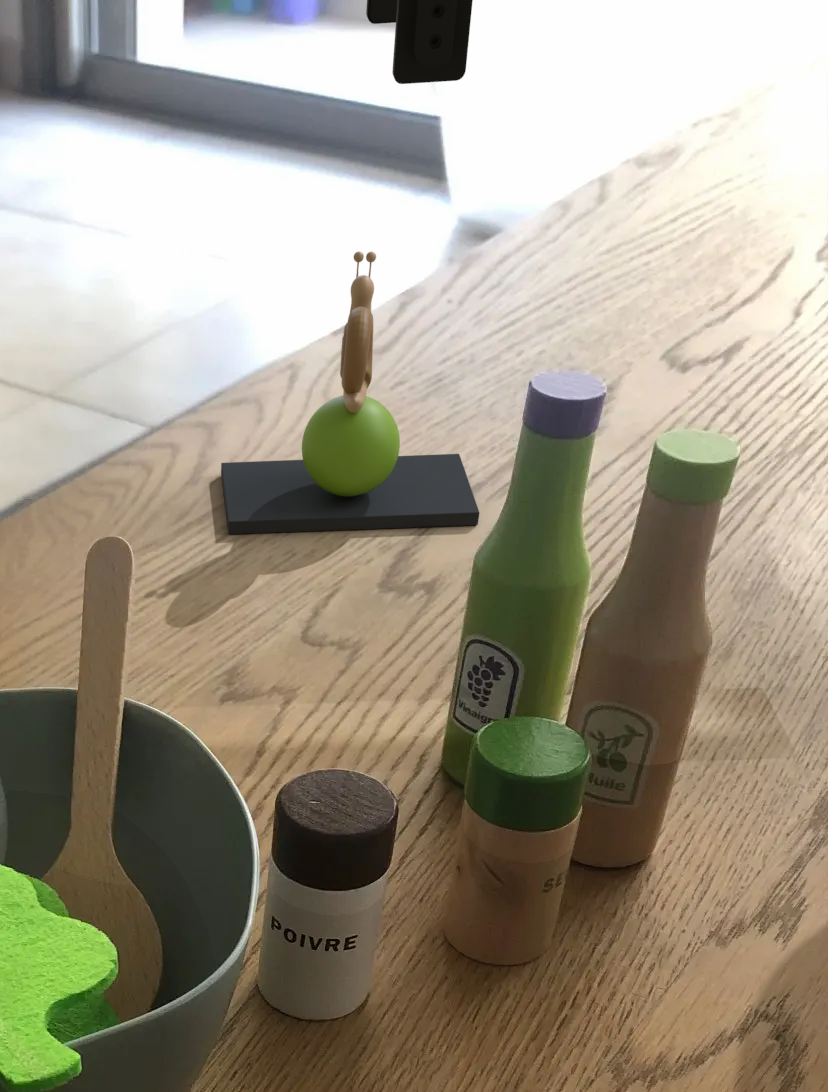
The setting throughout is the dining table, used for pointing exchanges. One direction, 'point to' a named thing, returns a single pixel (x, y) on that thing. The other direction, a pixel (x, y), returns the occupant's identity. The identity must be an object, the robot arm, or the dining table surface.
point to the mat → (301, 505)
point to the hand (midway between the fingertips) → (412, 49)
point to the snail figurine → (353, 412)
